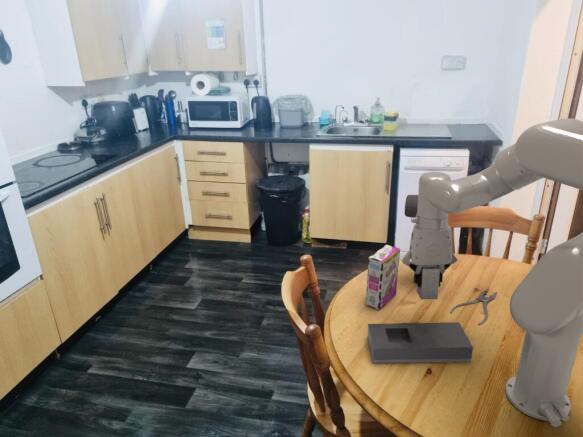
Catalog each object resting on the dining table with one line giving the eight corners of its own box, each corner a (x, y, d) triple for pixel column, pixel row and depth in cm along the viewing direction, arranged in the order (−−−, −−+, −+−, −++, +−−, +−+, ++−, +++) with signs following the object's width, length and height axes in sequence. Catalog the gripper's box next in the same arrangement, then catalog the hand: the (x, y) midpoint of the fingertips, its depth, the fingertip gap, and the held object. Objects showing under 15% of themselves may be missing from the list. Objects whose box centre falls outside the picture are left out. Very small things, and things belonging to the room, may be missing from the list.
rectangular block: (470, 362, 107) (473, 347, 105) (373, 363, 108) (374, 348, 106) (457, 336, 116) (459, 322, 114) (367, 337, 117) (368, 323, 115)
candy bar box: (380, 311, 128) (382, 262, 122) (365, 305, 131) (367, 257, 124) (397, 294, 136) (401, 247, 129) (383, 289, 139) (385, 243, 132)
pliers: (448, 314, 124) (465, 283, 140) (448, 317, 125) (465, 285, 140) (484, 325, 119) (497, 291, 135) (483, 327, 120) (497, 293, 135)
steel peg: (437, 299, 115) (439, 268, 112) (420, 299, 115) (422, 269, 112) (432, 290, 119) (435, 261, 116) (416, 291, 120) (418, 261, 116)
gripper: (401, 228, 107) (399, 292, 113) (471, 225, 106) (464, 290, 112) (395, 217, 114) (393, 278, 120) (460, 214, 113) (454, 276, 120)
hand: (427, 283), depth 116 cm, fingers closed on steel peg, 4 cm apart
